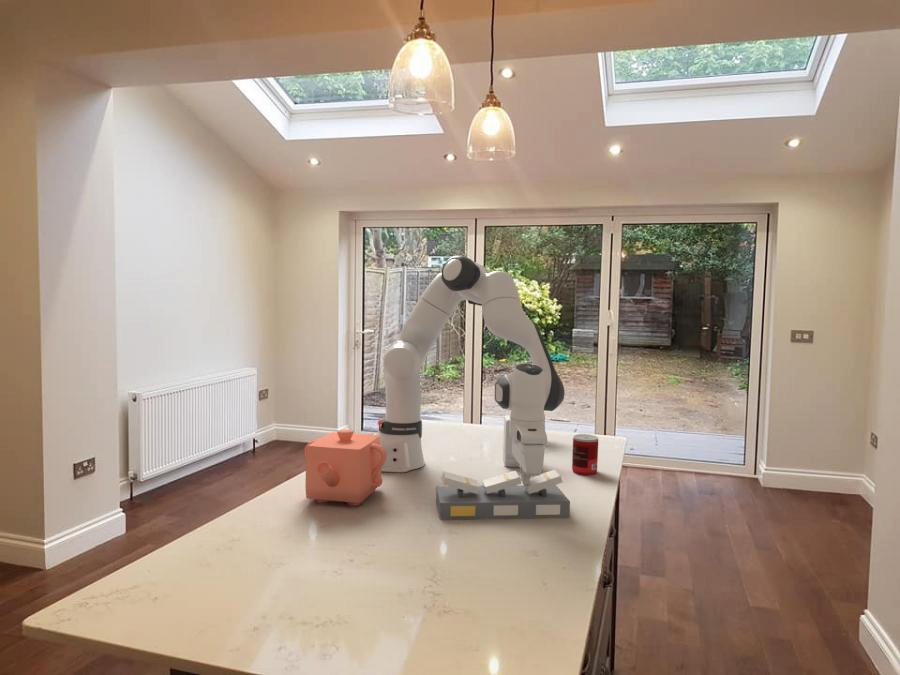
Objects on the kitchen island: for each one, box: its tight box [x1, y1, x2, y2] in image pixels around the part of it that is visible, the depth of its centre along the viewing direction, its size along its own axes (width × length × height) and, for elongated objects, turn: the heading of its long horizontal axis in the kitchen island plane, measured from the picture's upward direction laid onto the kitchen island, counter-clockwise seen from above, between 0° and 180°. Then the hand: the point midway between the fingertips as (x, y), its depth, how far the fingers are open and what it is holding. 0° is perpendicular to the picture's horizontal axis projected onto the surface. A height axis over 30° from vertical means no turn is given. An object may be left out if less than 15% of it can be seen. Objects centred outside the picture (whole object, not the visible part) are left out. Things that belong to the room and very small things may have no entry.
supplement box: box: [502, 414, 520, 468], centre depth 203 cm, size 9×9×15 cm
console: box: [435, 484, 571, 520], centre depth 160 cm, size 32×13×6 cm, turn 96°
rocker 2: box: [481, 470, 522, 494], centre depth 160 cm, size 9×6×2 cm, turn 95°
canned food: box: [571, 433, 599, 476], centre depth 195 cm, size 8×8×11 cm
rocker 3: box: [522, 469, 563, 494], centre depth 161 cm, size 9×6×2 cm, turn 95°
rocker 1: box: [441, 470, 480, 494], centre depth 159 cm, size 9×6×2 cm, turn 96°
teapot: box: [304, 428, 387, 506], centre depth 163 cm, size 25×23×18 cm
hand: (525, 482), depth 160 cm, fingers closed, pressing on rocker 3
